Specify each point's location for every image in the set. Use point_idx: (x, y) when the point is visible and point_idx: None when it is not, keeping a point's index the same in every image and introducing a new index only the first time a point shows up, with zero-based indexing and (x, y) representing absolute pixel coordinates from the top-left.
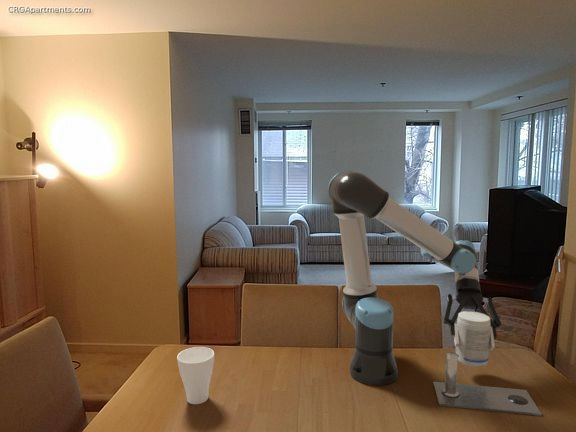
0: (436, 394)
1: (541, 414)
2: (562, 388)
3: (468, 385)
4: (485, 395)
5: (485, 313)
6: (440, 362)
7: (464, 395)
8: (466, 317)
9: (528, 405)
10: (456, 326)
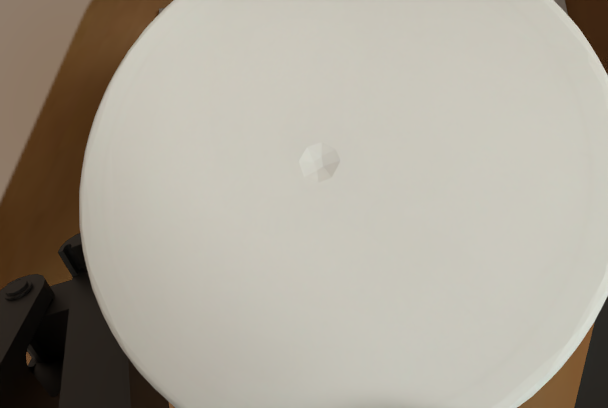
0: (565, 11)
1: (160, 11)
2: (8, 245)
3: None
4: None
5: (87, 404)
6: (552, 401)
7: None
8: (468, 38)
9: None
10: None
